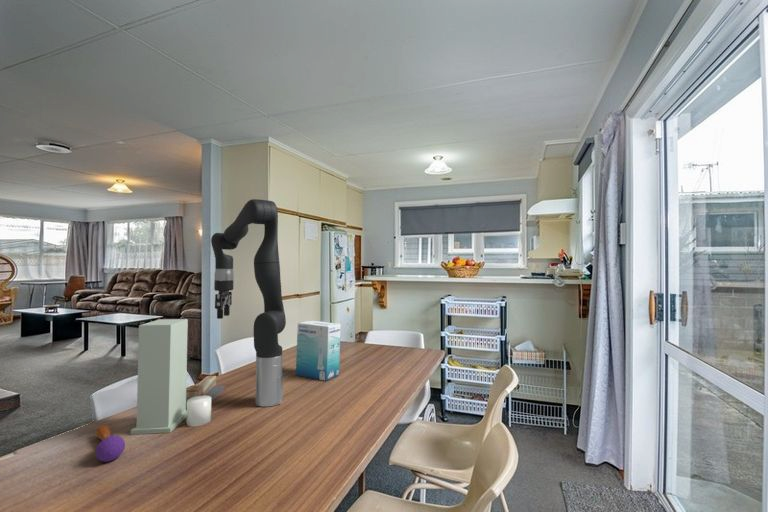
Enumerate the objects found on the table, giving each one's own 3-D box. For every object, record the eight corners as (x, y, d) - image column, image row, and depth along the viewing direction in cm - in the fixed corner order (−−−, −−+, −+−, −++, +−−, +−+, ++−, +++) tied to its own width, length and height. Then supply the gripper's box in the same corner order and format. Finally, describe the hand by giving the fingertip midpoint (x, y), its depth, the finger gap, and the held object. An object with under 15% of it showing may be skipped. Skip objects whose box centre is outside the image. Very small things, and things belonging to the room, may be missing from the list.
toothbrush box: (340, 375, 161) (340, 322, 162) (327, 381, 152) (327, 325, 153) (309, 370, 169) (310, 319, 170) (295, 376, 160) (296, 322, 161)
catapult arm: (217, 384, 146) (217, 373, 146) (197, 402, 126) (197, 390, 126) (205, 384, 146) (206, 373, 146) (184, 403, 126) (184, 390, 126)
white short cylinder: (214, 416, 117) (214, 395, 117) (206, 425, 110) (206, 403, 110) (191, 417, 116) (192, 396, 116) (182, 427, 109) (183, 404, 109)
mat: (224, 387, 144) (224, 385, 144) (204, 409, 123) (204, 406, 123) (199, 388, 143) (199, 386, 143) (173, 410, 121) (173, 408, 121)
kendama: (117, 419, 106) (129, 437, 91) (112, 440, 104) (123, 462, 90) (92, 421, 102) (100, 440, 87) (87, 443, 100) (94, 467, 86)
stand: (190, 413, 119) (192, 318, 120) (170, 432, 105) (172, 325, 106) (155, 414, 118) (157, 319, 119) (130, 434, 104) (133, 325, 105)
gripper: (220, 278, 158) (219, 314, 157) (208, 280, 144) (208, 319, 143) (237, 278, 159) (237, 314, 158) (227, 280, 145) (227, 319, 144)
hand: (223, 317), depth 151 cm, fingers open, 8 cm apart
